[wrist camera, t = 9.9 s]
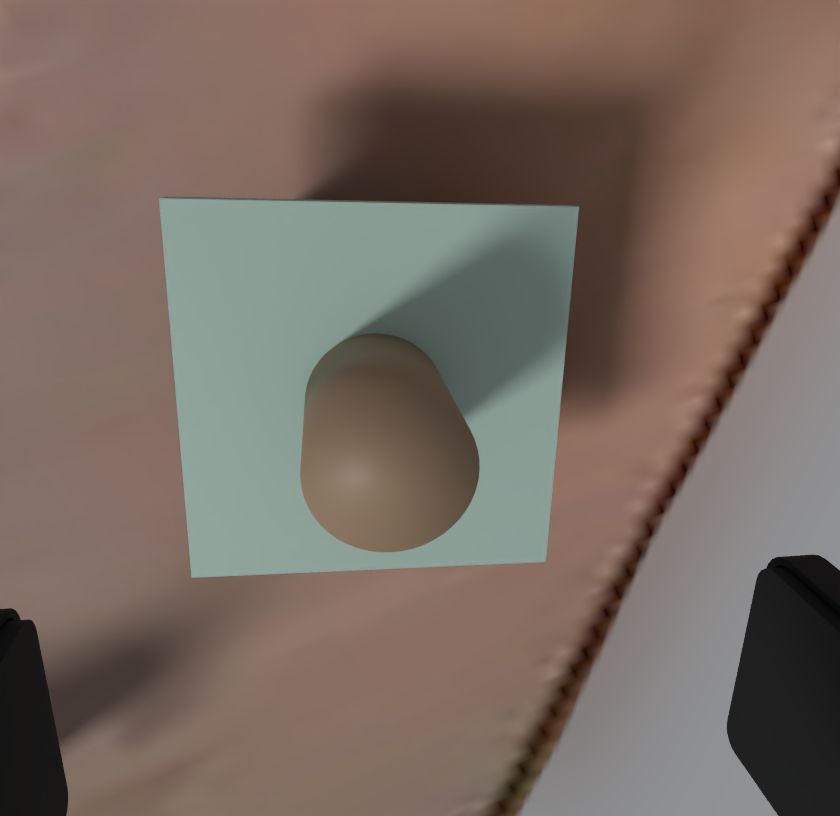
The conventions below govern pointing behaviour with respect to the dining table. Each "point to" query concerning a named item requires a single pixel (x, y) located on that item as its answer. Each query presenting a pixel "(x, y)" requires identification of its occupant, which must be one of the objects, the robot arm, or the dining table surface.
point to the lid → (366, 380)
